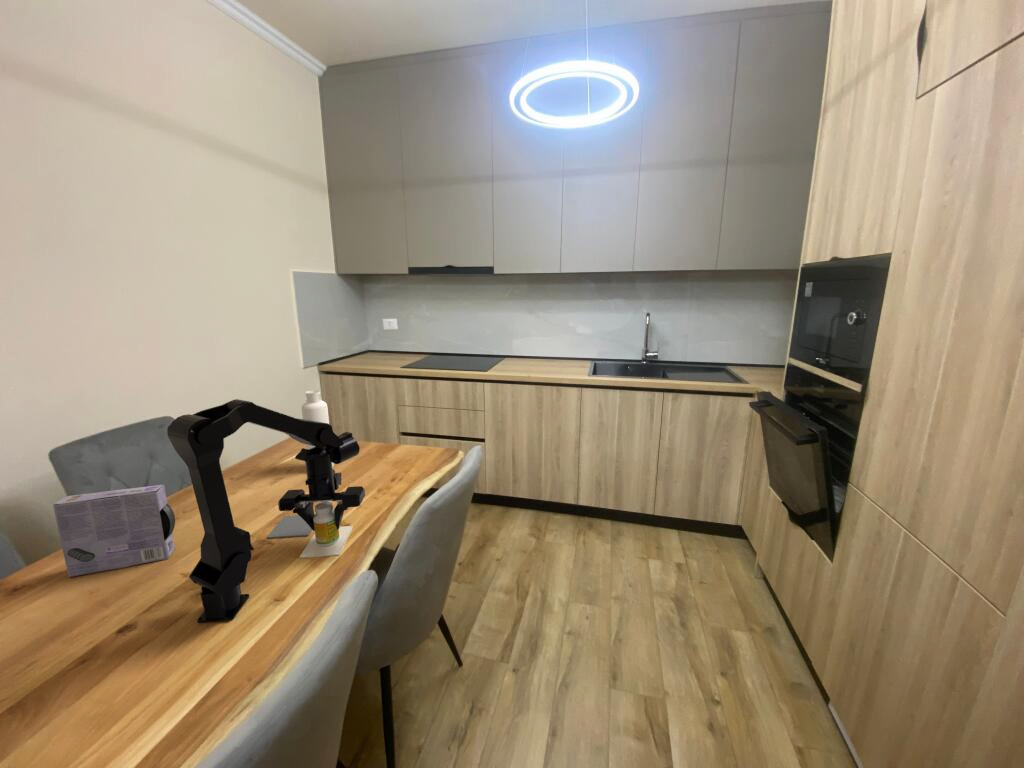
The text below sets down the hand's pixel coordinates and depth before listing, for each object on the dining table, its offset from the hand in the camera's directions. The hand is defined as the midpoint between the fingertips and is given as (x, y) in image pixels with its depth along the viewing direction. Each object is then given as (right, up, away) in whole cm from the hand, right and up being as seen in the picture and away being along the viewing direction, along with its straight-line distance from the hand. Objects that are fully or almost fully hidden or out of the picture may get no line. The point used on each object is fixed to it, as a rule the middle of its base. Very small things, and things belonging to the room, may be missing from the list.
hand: (326, 529), depth 101 cm
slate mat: (-12, -2, +7) cm, 14 cm away
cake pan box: (-43, -6, -7) cm, 44 cm away
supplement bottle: (0, -3, +1) cm, 3 cm away
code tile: (0, -3, +1) cm, 4 cm away
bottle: (-22, +6, +44) cm, 49 cm away
